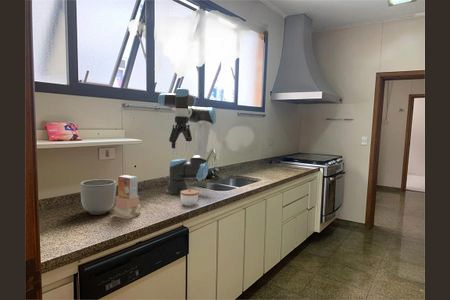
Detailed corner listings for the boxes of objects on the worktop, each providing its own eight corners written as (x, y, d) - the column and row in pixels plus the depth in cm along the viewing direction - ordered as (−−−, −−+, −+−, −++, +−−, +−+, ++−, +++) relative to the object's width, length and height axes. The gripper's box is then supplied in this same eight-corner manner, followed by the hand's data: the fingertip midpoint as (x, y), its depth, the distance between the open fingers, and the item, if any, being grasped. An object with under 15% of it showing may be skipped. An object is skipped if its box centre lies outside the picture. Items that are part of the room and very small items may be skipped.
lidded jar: (176, 205, 166) (177, 189, 165) (185, 201, 176) (186, 186, 175) (192, 207, 162) (193, 191, 161) (201, 203, 172) (201, 188, 171)
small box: (117, 196, 143) (117, 176, 142) (125, 194, 148) (126, 174, 147) (129, 199, 140) (129, 178, 139) (137, 196, 145) (137, 176, 144)
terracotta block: (127, 202, 150) (127, 193, 150) (138, 205, 147) (138, 195, 146) (115, 206, 143) (115, 196, 143) (127, 209, 140) (127, 199, 139)
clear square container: (127, 211, 151) (127, 202, 151) (140, 214, 147) (140, 205, 147) (114, 216, 143) (114, 206, 143) (127, 219, 139) (127, 209, 139)
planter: (94, 220, 136) (94, 187, 134) (72, 213, 144) (72, 182, 143) (123, 211, 151) (123, 181, 149) (102, 205, 159) (102, 177, 158)
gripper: (187, 116, 173) (186, 150, 175) (162, 115, 151) (162, 154, 153) (198, 116, 170) (197, 151, 172) (174, 115, 148) (173, 155, 150)
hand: (180, 153), depth 163 cm, fingers open, 13 cm apart
